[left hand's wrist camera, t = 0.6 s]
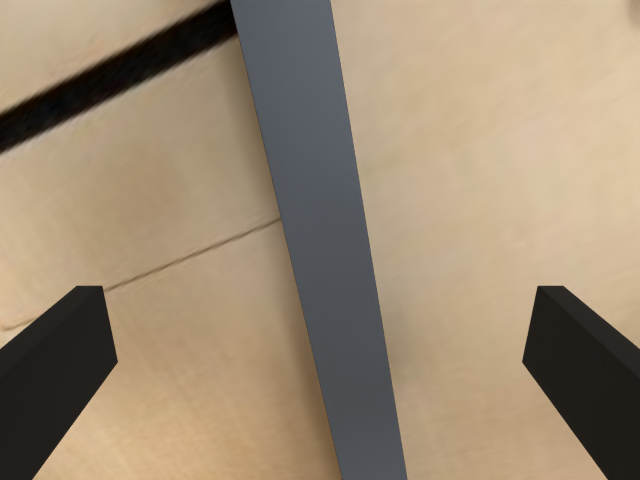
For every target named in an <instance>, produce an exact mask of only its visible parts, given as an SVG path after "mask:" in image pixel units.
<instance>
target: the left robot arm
mask: <svg viewBox="0 0 640 480" xmlns="http://www.w3.org/2000/svg"><path fill="white" fill-rule="evenodd" d="M117 363H118V360H117V355H116V350H115V346H114V341H113V336H112V331H111V326H110V321H109V316H108V311H107V307H106V302H105V297H104V292H103V287H102V286H76V287H75V288H74V289H72V290H71V291H70V292H69V293H68V294H66V295H65V296H64V297H63V298H62V299H60V300H59V301H58V302H57V303H55V304H54V305H53V306H52V307H51V308H49V309H48V310H47V311H46V312H45V313H43V314H42V315H41V316H40V317H39V318H37V319H36V320H35V321H34V322H32V323H31V324H30V325H29V326H28V327H26V328H25V329H24V330H23V331H22V332H20V333H19V334H18V335H17V336H16V337H14V338H13V339H12V340H11V341H9V342H8V343H7V344H6V345H5V346H3V347H2V348H1V349H0V480H32V479H33V478H34V476H35V475H36V474H37V472H38V471H39V470H40V468H41V467H42V465H43V464H44V463H45V461H46V460H47V459H48V457H49V456H50V454H51V453H52V452H53V450H54V449H55V448H56V446H57V445H58V444H59V442H60V441H61V439H62V438H63V437H64V435H65V434H66V433H67V431H68V430H69V428H70V427H71V426H72V424H73V423H74V422H75V420H76V419H77V417H78V416H79V415H80V413H81V412H82V411H83V409H84V408H85V406H86V405H87V404H88V402H89V401H90V400H91V398H92V397H93V396H94V394H95V393H96V391H97V390H98V389H99V387H100V386H101V385H102V383H103V382H104V380H105V379H106V378H107V376H108V375H109V374H110V372H111V371H112V369H113V368H114V367H115V365H116V364H117ZM522 363H523V364H524V365H525V367H526V368H527V369H528V371H529V372H530V374H531V375H532V376H533V378H534V379H535V380H536V382H537V383H538V385H539V386H540V387H541V389H542V390H543V391H544V393H545V394H546V396H547V397H548V398H549V400H550V401H551V402H552V404H553V405H554V406H555V408H556V409H557V411H558V412H559V413H560V415H561V416H562V417H563V419H564V420H565V422H566V423H567V424H568V426H569V427H570V428H571V430H572V431H573V433H574V434H575V435H576V437H577V438H578V439H579V441H580V442H581V444H582V445H583V446H584V448H585V449H586V450H587V452H588V453H589V454H590V456H591V457H592V459H593V460H594V461H595V463H596V464H597V465H598V467H599V468H600V470H601V471H602V472H603V474H604V475H605V476H606V478H607V479H608V480H640V349H639V348H638V347H637V346H635V345H634V344H633V343H632V342H631V341H629V340H628V339H627V338H626V337H624V336H623V335H622V334H621V333H620V332H618V331H617V330H616V329H615V328H614V327H612V326H611V325H610V324H609V323H608V322H606V321H605V320H604V319H603V318H601V317H600V316H599V315H598V314H597V313H595V312H594V311H593V310H592V309H591V308H589V307H588V306H587V305H586V304H585V303H583V302H582V301H581V300H580V299H578V298H577V297H576V296H575V295H574V294H572V293H571V292H570V291H569V290H568V289H566V288H565V287H564V286H538V287H537V292H536V297H535V302H534V306H533V311H532V316H531V321H530V326H529V331H528V336H527V341H526V346H525V350H524V355H523V360H522Z"/></svg>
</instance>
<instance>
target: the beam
mask: <svg viewBox="0 0 640 480" xmlns="http://www.w3.org/2000/svg"><path fill="white" fill-rule="evenodd" d="M230 1H231V6H232V10H233V14H234V18H235V23H236V27H237V31H238V36H239V40H240V44H241V48H242V53H243V57H244V61H245V65H246V70H247V74H248V78H249V83H250V87H251V91H252V95H253V100H254V104H255V108H256V112H257V117H258V121H259V125H260V130H261V134H262V138H263V142H264V147H265V151H266V155H267V159H268V164H269V168H270V172H271V177H272V181H273V185H274V189H275V194H276V198H277V202H278V206H279V211H280V215H281V219H282V224H283V228H284V232H285V236H286V241H287V245H288V249H289V253H290V258H291V262H292V266H293V271H294V275H295V279H296V283H297V288H298V292H299V296H300V300H301V305H302V309H303V313H304V318H305V322H306V326H307V330H308V335H309V339H310V343H311V347H312V352H313V356H314V360H315V365H316V369H317V373H318V377H319V382H320V386H321V390H322V394H323V399H324V403H325V407H326V412H327V416H328V420H329V424H330V429H331V433H332V437H333V441H334V446H335V450H336V454H337V459H338V463H339V467H340V471H341V476H342V480H407V474H406V468H405V462H404V456H403V449H402V443H401V437H400V431H399V425H398V418H397V412H396V406H395V400H394V394H393V387H392V381H391V375H390V369H389V362H388V356H387V350H386V344H385V338H384V331H383V325H382V319H381V313H380V307H379V300H378V294H377V288H376V282H375V276H374V269H373V263H372V257H371V251H370V244H369V238H368V232H367V226H366V220H365V213H364V207H363V201H362V195H361V189H360V182H359V176H358V170H357V164H356V158H355V151H354V145H353V139H352V133H351V126H350V120H349V114H348V108H347V102H346V95H345V89H344V83H343V77H342V71H341V64H340V58H339V52H338V46H337V39H336V33H335V27H334V21H333V15H332V8H331V2H330V0H230Z"/></svg>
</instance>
